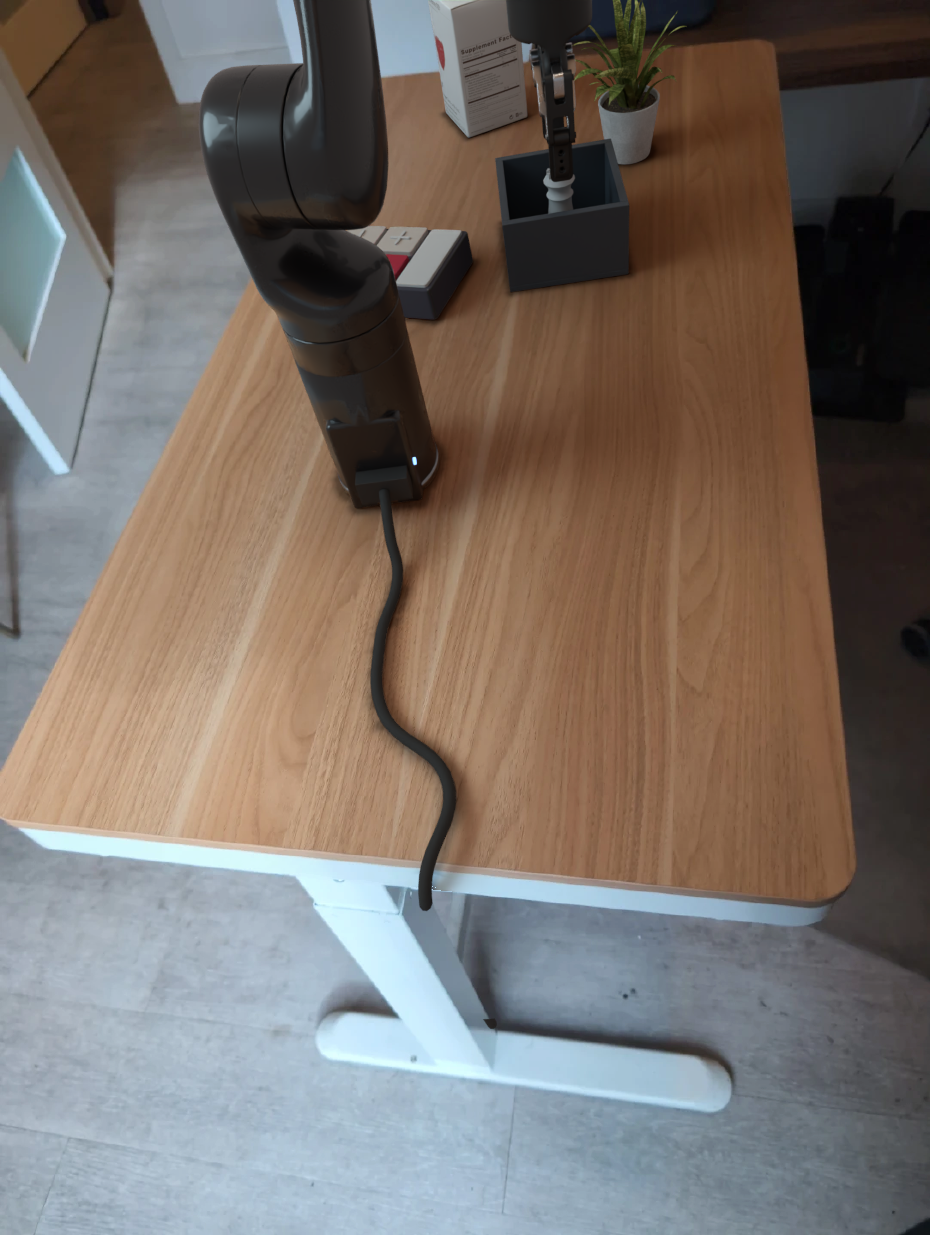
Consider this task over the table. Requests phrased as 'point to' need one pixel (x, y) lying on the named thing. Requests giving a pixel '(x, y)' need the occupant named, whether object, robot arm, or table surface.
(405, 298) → the calculator
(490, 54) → the white product box
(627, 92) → the house plant
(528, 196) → the bin
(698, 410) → the table surface
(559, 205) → the rook chess piece
